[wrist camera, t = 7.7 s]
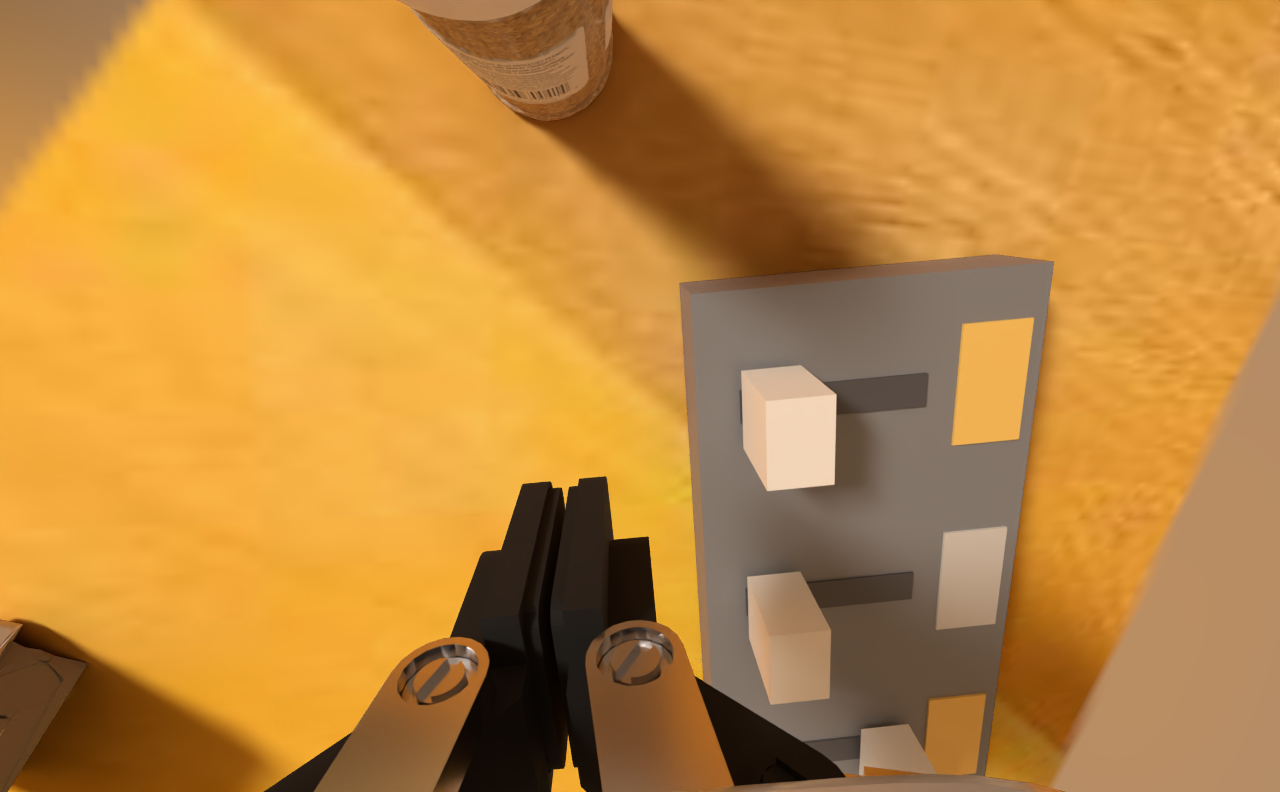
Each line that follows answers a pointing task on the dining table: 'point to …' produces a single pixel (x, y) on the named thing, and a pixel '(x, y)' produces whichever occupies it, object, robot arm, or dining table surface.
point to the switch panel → (873, 488)
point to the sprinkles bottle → (528, 48)
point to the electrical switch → (28, 698)
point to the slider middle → (789, 638)
